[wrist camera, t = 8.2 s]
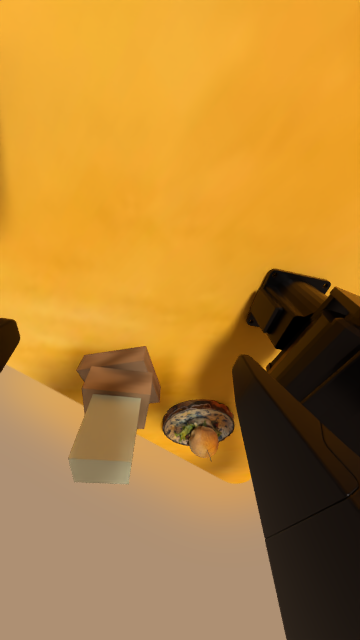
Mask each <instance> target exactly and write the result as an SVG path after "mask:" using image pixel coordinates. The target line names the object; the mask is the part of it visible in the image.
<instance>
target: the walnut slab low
mask: <svg viewBox="0 0 360 640" xmlns="http://www.w3.org/2000/svg"><path fill="white" fill-rule="evenodd" d="M91 366H95V367H104V368H113V369H122V370H131V371H140V372H150V373H153V376H152V385H151V395H150V400H149V404H150V403H157V402H160V389H161V387H160V384H159V381H158V378H157V376H156V373H155V370H154V367H153V364H152V362H151V359H150V356H149V353H148V350H147V348H146V346H143V347H136V348H129V349H123V350H116V351H109V352H102V353H96V354H89V355H84V357H83V359H82V361H81V363H80V364H79V366H78V368H77V372H78V373H79V375H80V376H81V378H82V379H83V381H84V382H85V380H86V378H87V375H88V373H89V371H90V369H91Z"/></svg>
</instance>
